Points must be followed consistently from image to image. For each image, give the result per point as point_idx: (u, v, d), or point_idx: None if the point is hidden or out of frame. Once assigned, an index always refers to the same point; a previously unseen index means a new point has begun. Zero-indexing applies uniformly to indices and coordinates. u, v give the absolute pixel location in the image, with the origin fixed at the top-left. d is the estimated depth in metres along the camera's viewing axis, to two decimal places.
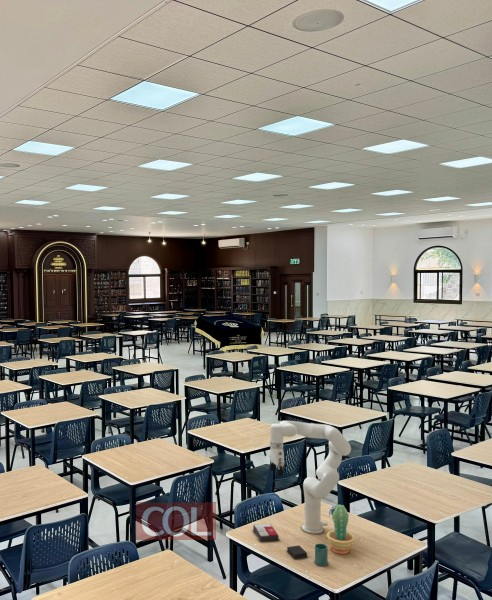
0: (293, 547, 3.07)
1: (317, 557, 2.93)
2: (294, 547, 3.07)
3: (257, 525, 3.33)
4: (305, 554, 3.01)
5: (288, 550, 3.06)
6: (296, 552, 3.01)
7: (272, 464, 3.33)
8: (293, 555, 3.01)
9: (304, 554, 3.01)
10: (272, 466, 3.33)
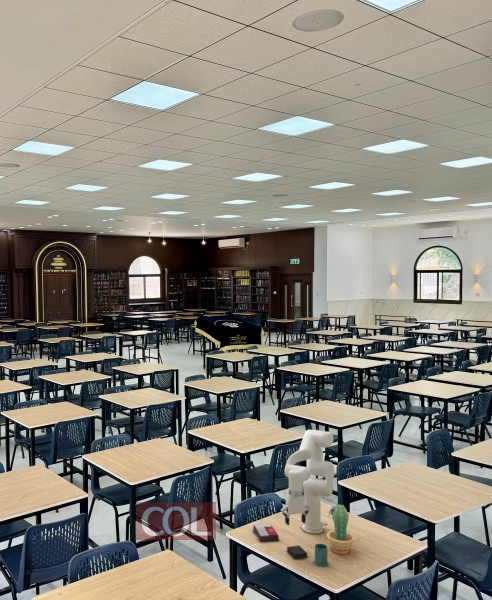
0: (293, 547, 3.07)
1: (317, 557, 2.93)
2: (294, 547, 3.07)
3: (257, 525, 3.33)
4: (305, 554, 3.01)
5: (288, 550, 3.06)
6: (296, 552, 3.01)
7: None
8: (293, 555, 3.01)
9: (304, 554, 3.01)
10: None
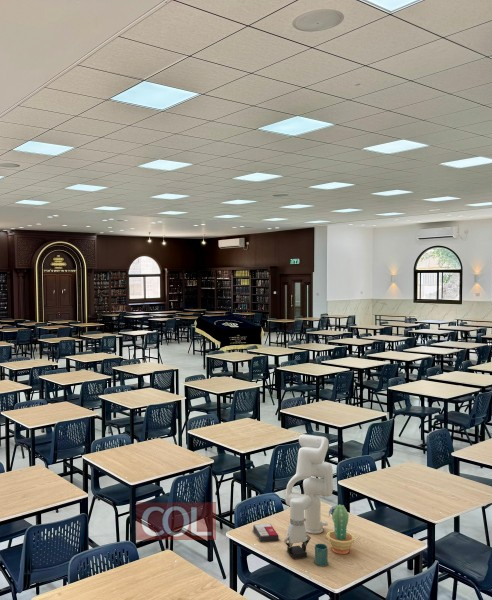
0: (293, 547, 3.07)
1: (317, 557, 2.93)
2: (294, 547, 3.07)
3: (257, 525, 3.33)
4: (305, 554, 3.01)
5: None
6: (296, 552, 3.01)
7: None
8: (293, 555, 3.01)
9: (304, 554, 3.01)
10: None
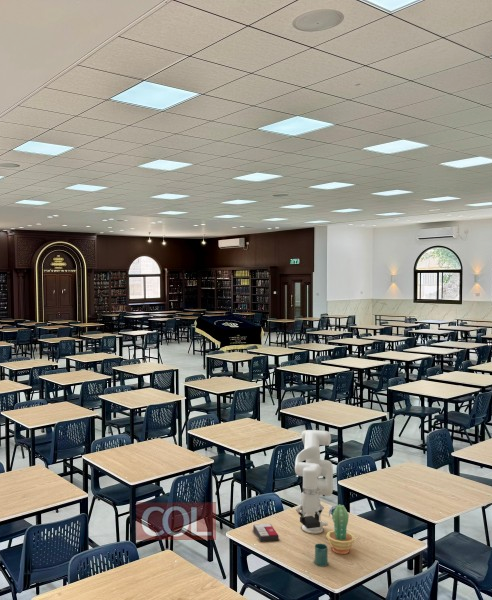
0: (306, 517, 3.02)
1: (317, 557, 2.93)
2: (307, 517, 3.02)
3: (257, 525, 3.33)
4: (318, 524, 2.95)
5: None
6: (308, 522, 2.96)
7: None
8: (306, 524, 2.95)
9: (317, 523, 2.95)
10: None
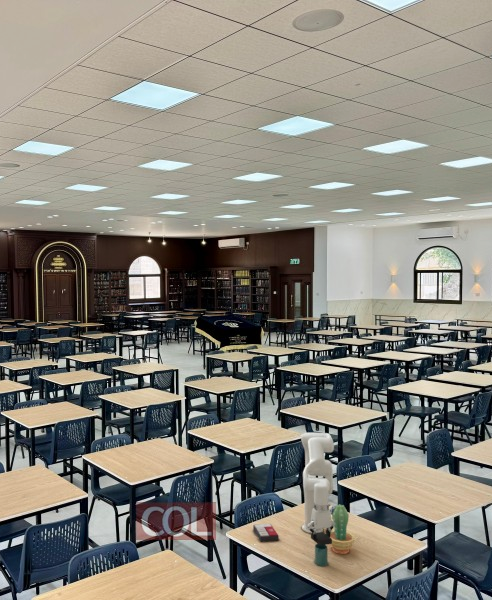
0: (317, 533, 2.97)
1: (317, 557, 2.93)
2: (318, 533, 2.97)
3: (257, 525, 3.33)
4: (330, 540, 2.91)
5: None
6: (320, 538, 2.91)
7: None
8: (317, 541, 2.91)
9: (329, 540, 2.91)
10: None
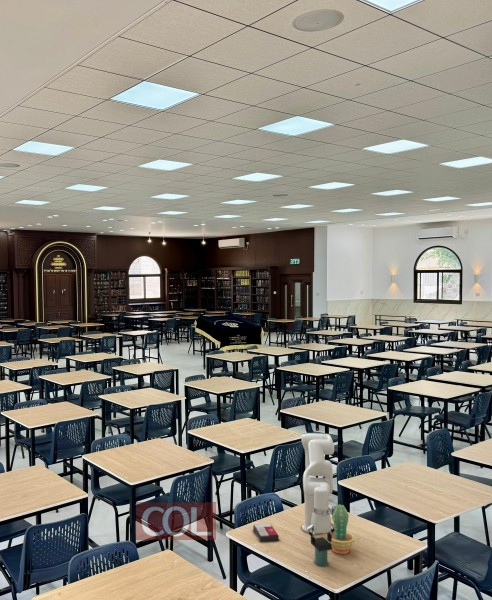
0: (317, 539, 2.97)
1: (317, 557, 2.93)
2: (318, 539, 2.97)
3: (257, 525, 3.33)
4: (330, 546, 2.91)
5: None
6: (320, 544, 2.92)
7: None
8: (317, 547, 2.91)
9: (329, 546, 2.91)
10: None
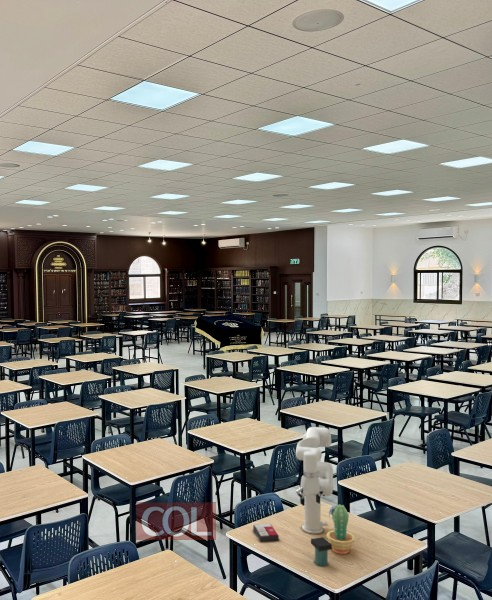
0: (317, 539, 2.97)
1: (317, 557, 2.93)
2: (318, 539, 2.97)
3: (257, 525, 3.33)
4: (330, 546, 2.91)
5: (312, 542, 2.97)
6: (320, 544, 2.92)
7: None
8: (317, 547, 2.91)
9: (329, 546, 2.91)
10: None
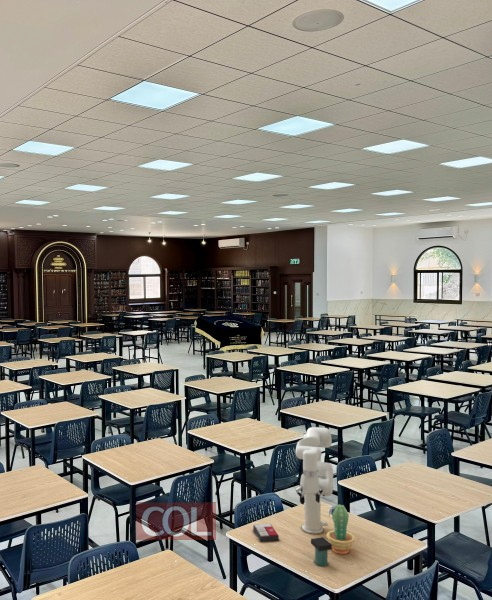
0: (317, 539, 2.97)
1: (317, 557, 2.93)
2: (318, 539, 2.97)
3: (257, 525, 3.33)
4: (330, 546, 2.91)
5: (312, 542, 2.97)
6: (320, 544, 2.92)
7: None
8: (317, 547, 2.91)
9: (329, 546, 2.91)
10: None
